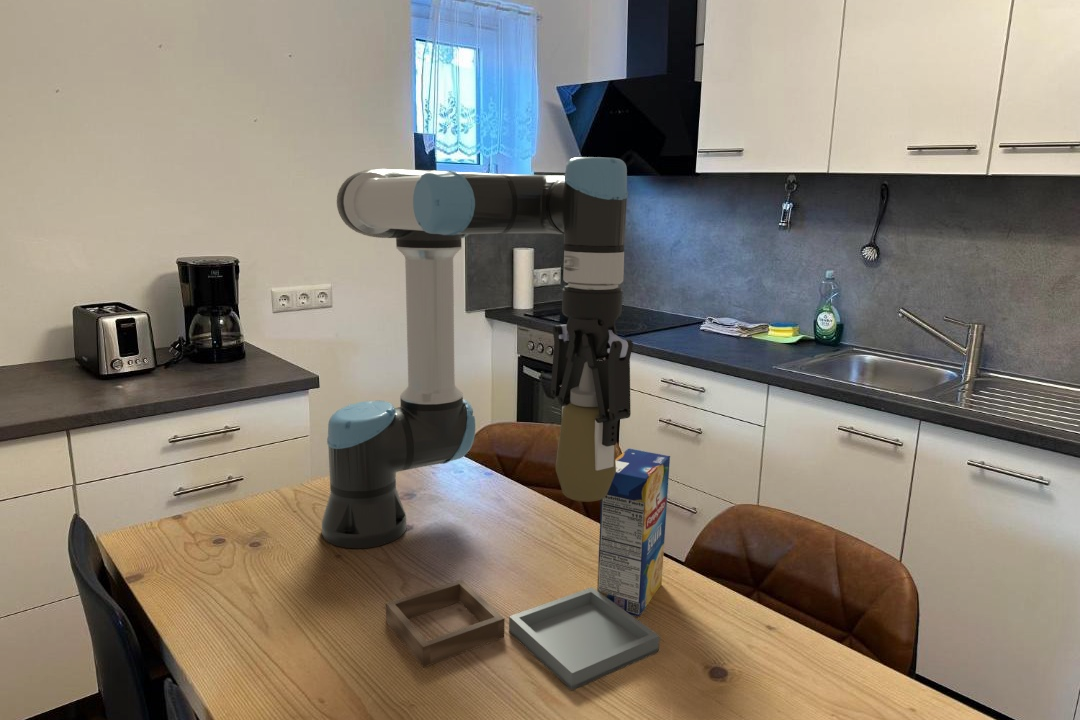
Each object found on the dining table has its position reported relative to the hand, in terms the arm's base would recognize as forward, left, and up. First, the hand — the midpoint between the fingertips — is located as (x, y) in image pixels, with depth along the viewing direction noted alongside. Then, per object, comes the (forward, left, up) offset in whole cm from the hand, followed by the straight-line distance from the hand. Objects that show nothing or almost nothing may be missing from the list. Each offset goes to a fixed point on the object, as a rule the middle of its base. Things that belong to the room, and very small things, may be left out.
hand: (586, 459), depth 97 cm
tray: (0, 0, -27) cm, 27 cm away
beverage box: (-6, +14, -27) cm, 32 cm away
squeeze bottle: (0, 0, -5) cm, 5 cm away
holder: (-13, -15, -27) cm, 33 cm away
